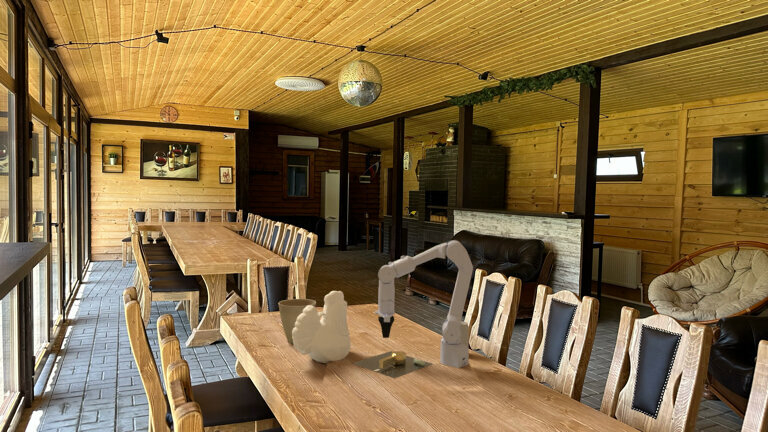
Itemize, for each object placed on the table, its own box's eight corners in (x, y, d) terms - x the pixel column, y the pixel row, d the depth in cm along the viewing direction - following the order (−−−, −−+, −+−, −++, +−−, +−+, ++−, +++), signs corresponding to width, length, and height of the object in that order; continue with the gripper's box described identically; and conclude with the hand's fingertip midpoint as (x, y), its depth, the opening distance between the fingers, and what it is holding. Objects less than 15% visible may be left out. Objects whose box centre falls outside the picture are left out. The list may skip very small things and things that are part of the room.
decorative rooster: (335, 349, 198) (336, 285, 197) (359, 360, 186) (361, 292, 185) (276, 362, 183) (277, 292, 181) (298, 374, 170) (299, 300, 169)
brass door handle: (397, 359, 183) (397, 350, 183) (408, 362, 180) (408, 353, 179) (375, 367, 173) (375, 358, 173) (387, 371, 170) (387, 361, 170)
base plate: (433, 368, 179) (433, 359, 179) (394, 382, 164) (394, 373, 164) (391, 355, 193) (391, 346, 192) (351, 367, 178) (351, 358, 178)
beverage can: (448, 354, 194) (449, 323, 193) (454, 350, 200) (455, 319, 199) (465, 357, 191) (465, 325, 190) (470, 353, 197) (471, 322, 196)
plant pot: (319, 337, 215) (319, 299, 214) (310, 347, 200) (311, 307, 199) (284, 335, 216) (284, 297, 215) (273, 345, 201) (273, 305, 201)
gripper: (374, 295, 189) (374, 331, 190) (375, 303, 175) (374, 343, 175) (393, 295, 189) (393, 331, 190) (396, 303, 175) (395, 343, 176)
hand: (385, 337), depth 183 cm, fingers closed
